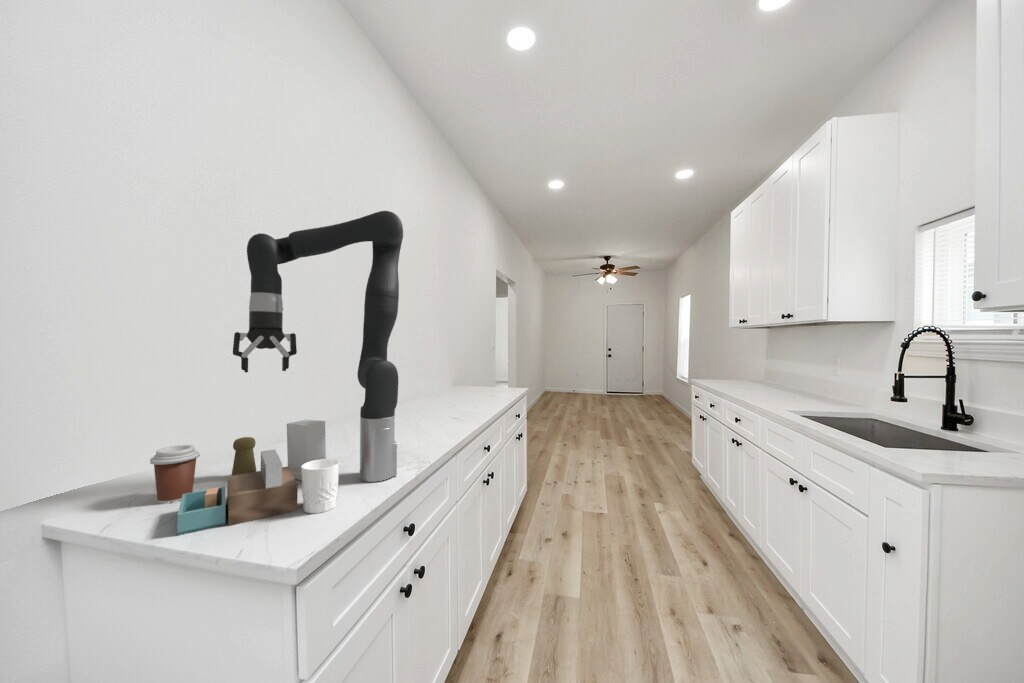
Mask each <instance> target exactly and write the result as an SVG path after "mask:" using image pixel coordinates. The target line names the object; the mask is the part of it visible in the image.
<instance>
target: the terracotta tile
mask: <svg viewBox="0 0 1024 683" xmlns="http://www.w3.org/2000/svg"><path fill="white" fill-rule="evenodd" d="M219 488H220V487H213V488H207V489H206V490H207V492H206V494H205V508H209V507H215V506H218V505H219Z"/></svg>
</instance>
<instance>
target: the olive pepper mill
mask: <svg viewBox="0 0 1024 683" xmlns="http://www.w3.org/2000/svg"><path fill="white" fill-rule="evenodd" d="M255 446H256V440H255V438H254V437H250V436H245V437H244V436H243V437H239V438H236V439H235V440H234V441H233V444H232V448H233V450H234V451H235V453H234V456H233V464H232V470H231V475H230V476H233V475H239V474H245V473H251V472H257V467H256V460H255V453H254V448H255Z"/></svg>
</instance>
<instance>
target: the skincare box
mask: <svg viewBox="0 0 1024 683" xmlns="http://www.w3.org/2000/svg"><path fill="white" fill-rule="evenodd" d="M326 440H327V439H326V420H316V419H305V418H304V419H301V420H297V421H293V422H289V423H288V422H287V423H286V448H287V449H286V450H287V454H286V455H287V466H288V467H289V469H290V471H291V472H292V474H293V476H294V478H295V480H296V481H297V480H298V481H302V474H301V466H302V465H303V464H305V463H307V462H310V461H314V460H320V459H327V452H326V451H327V448H326V446H327V445H326Z"/></svg>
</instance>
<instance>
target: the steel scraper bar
mask: <svg viewBox="0 0 1024 683" xmlns="http://www.w3.org/2000/svg"><path fill="white" fill-rule="evenodd" d="M282 467H283V462H282V461H281V459H280V456H279V454H278V452H277V450H276V448H275V449H269V450H268V449H267V450H261V451H260V471H261V475H262V478H263V481H264V485H265V488H266V489H268V488H274V487H279V486H282Z"/></svg>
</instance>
